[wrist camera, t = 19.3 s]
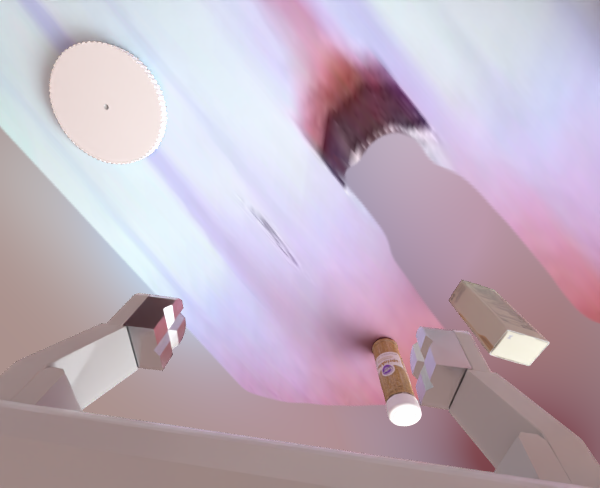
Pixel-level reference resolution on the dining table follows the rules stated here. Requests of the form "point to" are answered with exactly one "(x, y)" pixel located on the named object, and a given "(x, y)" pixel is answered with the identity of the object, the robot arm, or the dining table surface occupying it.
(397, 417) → the sprinkles bottle
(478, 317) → the skincare box
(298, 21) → the dining table surface
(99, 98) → the plastic lid
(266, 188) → the dining table surface
